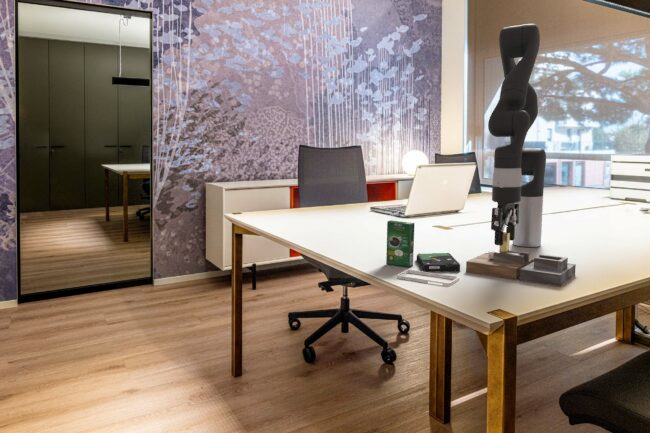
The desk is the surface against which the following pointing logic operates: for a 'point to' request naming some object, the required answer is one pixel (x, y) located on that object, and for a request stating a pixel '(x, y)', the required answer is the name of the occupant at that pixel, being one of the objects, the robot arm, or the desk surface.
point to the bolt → (503, 246)
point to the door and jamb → (524, 267)
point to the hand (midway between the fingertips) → (504, 242)
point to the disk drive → (438, 262)
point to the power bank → (428, 275)
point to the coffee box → (400, 243)
